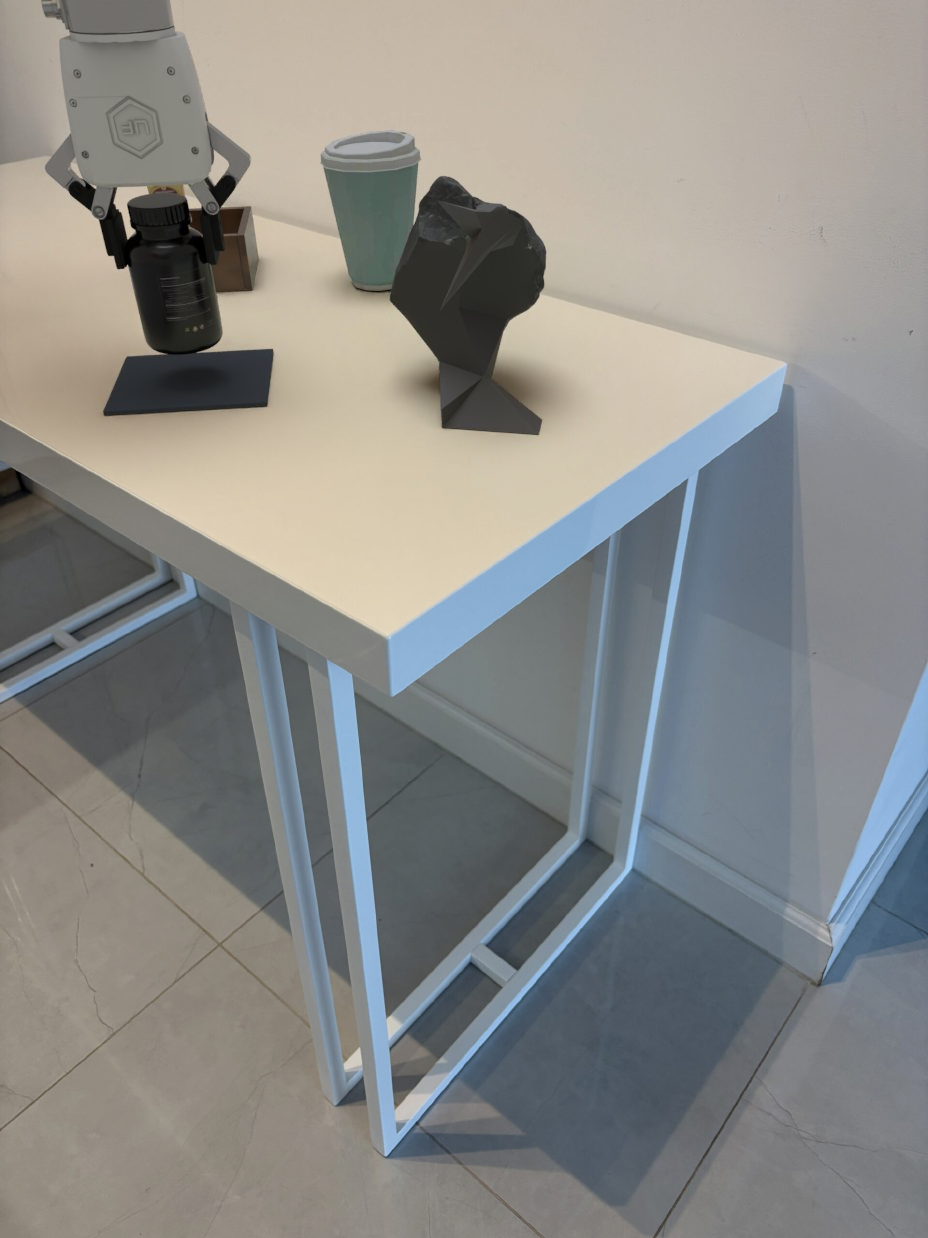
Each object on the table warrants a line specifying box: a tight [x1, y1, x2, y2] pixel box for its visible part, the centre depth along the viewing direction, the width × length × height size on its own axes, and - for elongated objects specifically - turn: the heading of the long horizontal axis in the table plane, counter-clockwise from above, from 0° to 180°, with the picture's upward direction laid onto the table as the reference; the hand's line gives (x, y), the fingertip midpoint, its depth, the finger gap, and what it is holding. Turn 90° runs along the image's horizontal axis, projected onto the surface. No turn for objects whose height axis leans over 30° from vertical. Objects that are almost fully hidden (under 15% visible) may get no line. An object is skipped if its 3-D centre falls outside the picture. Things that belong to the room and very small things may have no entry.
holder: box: [189, 205, 260, 293], centre depth 107 cm, size 12×12×6 cm
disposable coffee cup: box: [320, 129, 422, 292], centre depth 102 cm, size 11×11×15 cm
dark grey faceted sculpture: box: [389, 175, 547, 435], centre depth 79 cm, size 14×15×18 cm
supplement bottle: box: [125, 193, 224, 355], centre depth 80 cm, size 7×7×12 cm
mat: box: [102, 348, 274, 416], centre depth 86 cm, size 14×12×1 cm
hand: (169, 260), depth 79 cm, fingers closed on supplement bottle, 6 cm apart
